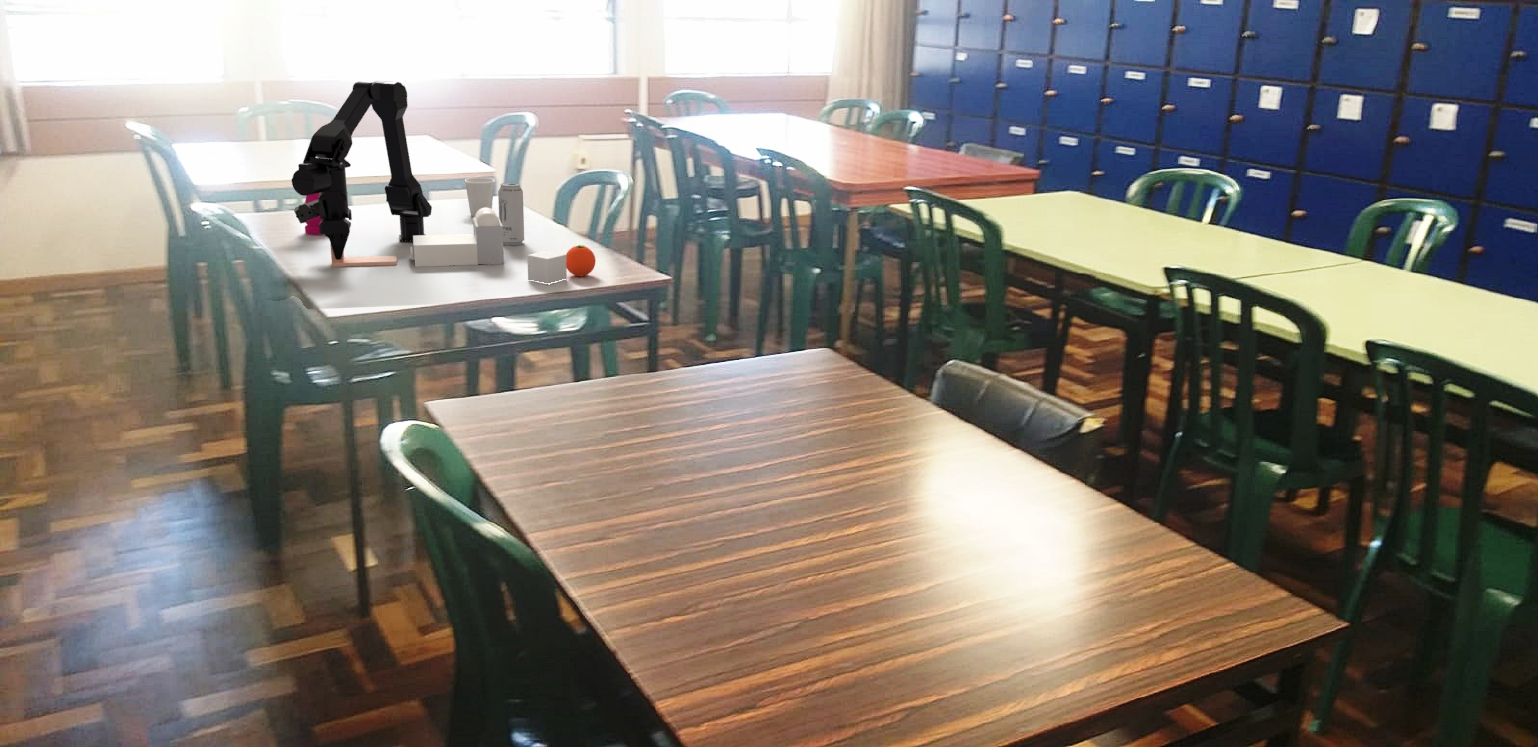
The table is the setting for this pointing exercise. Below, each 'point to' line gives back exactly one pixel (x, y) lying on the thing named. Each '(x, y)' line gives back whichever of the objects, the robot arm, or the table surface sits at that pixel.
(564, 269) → the grey cube
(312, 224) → the pepper mill
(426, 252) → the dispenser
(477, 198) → the dixie cup
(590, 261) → the clementine
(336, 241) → the robot arm
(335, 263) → the l-shaped wooden bracket
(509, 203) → the energy drink can
